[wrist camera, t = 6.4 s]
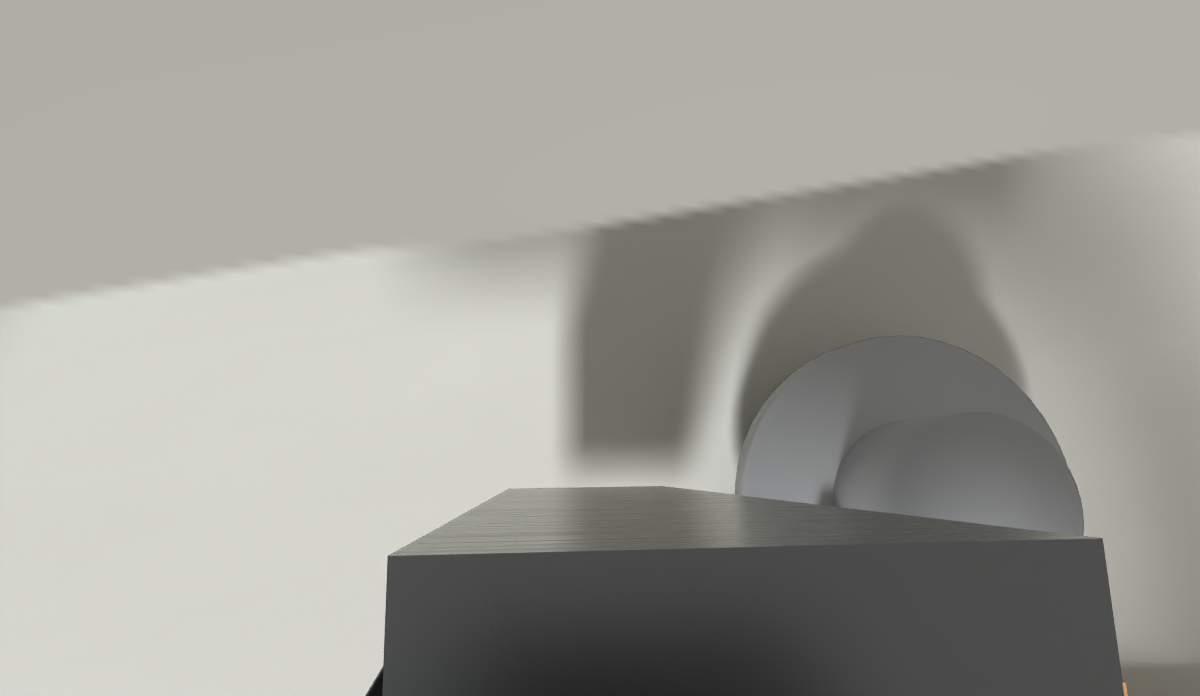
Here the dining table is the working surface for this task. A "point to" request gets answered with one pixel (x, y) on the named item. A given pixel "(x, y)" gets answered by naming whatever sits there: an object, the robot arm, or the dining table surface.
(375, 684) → the robot arm
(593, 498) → the dark grey long block
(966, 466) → the bracket head
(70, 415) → the dining table surface
